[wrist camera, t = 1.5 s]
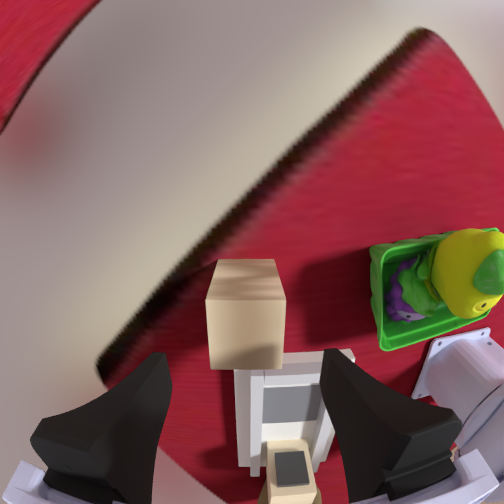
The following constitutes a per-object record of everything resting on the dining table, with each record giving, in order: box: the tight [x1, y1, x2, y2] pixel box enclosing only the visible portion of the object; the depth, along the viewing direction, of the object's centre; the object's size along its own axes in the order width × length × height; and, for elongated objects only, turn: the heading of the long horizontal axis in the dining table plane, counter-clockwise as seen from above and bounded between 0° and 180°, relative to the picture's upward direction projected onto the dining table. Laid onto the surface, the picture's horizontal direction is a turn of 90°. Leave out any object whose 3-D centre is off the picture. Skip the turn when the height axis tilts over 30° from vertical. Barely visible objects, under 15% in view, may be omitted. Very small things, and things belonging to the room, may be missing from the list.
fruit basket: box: [369, 228, 504, 351], centre depth 16 cm, size 11×9×11 cm
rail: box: [234, 349, 355, 504], centre depth 21 cm, size 10×16×8 cm, turn 0°
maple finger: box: [206, 259, 286, 370], centre depth 18 cm, size 4×5×7 cm
